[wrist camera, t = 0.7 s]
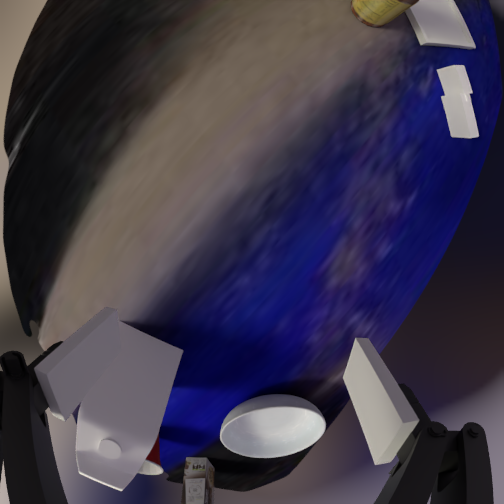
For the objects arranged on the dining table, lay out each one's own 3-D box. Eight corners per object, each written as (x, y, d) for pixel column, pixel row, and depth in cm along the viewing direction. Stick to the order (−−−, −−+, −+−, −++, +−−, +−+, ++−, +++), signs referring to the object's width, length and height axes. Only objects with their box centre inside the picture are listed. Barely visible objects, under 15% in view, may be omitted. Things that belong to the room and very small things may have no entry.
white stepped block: (460, 154, 34) (483, 157, 28) (415, 119, 32) (437, 118, 27) (475, 85, 29) (496, 83, 24) (431, 48, 27) (452, 41, 22)
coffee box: (185, 456, 59) (180, 503, 44) (207, 457, 59) (204, 505, 44) (194, 468, 62) (191, 511, 47) (215, 468, 62) (213, 512, 47)
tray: (385, -22, 22) (389, -26, 20) (440, -12, 21) (444, -15, 19) (420, 45, 27) (426, 42, 25) (470, 49, 26) (476, 47, 24)
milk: (108, 361, 45) (59, 470, 21) (119, 320, 41) (53, 447, 17) (164, 386, 47) (138, 503, 23) (183, 350, 44) (155, 490, 20)
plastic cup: (161, 444, 56) (155, 480, 45) (123, 428, 54) (112, 464, 43) (175, 429, 53) (169, 470, 42) (133, 412, 51) (121, 452, 40)
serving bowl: (330, 416, 53) (336, 438, 47) (248, 442, 56) (250, 464, 50) (299, 365, 46) (307, 393, 40) (201, 399, 49) (198, 426, 42)
